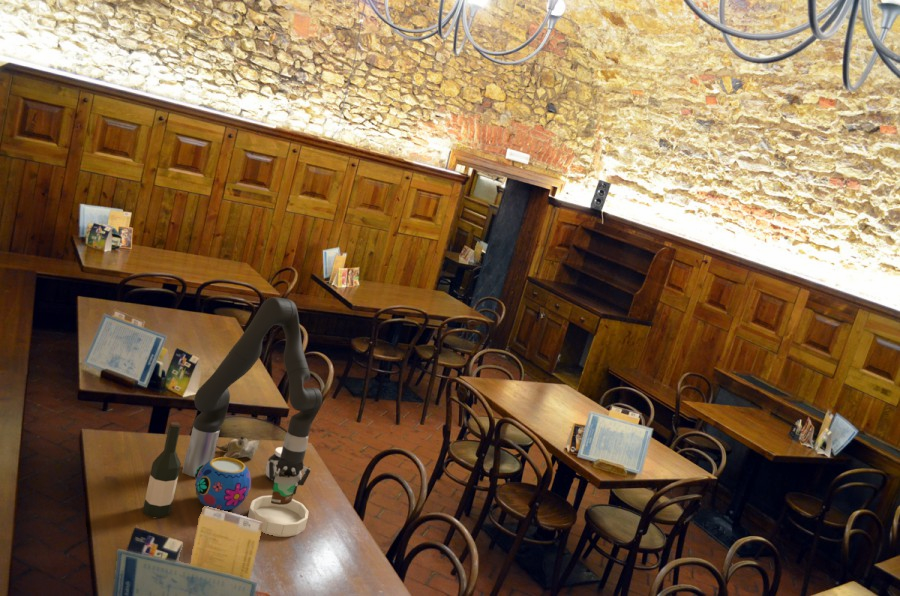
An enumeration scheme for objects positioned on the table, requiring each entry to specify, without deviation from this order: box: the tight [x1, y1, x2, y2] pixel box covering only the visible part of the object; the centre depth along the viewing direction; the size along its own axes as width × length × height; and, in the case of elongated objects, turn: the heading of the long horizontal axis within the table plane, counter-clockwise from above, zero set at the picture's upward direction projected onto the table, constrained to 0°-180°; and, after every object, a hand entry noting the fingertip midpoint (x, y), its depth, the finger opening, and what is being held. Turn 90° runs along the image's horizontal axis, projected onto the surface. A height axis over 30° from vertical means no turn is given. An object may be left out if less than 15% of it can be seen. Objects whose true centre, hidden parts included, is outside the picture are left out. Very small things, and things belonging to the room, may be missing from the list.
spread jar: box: [265, 446, 303, 484], centre depth 273 cm, size 12×11×12 cm
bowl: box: [247, 495, 310, 538], centre depth 243 cm, size 19×19×4 cm
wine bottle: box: [142, 421, 182, 519], centre depth 228 cm, size 8×8×30 cm
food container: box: [271, 472, 301, 505], centre depth 241 cm, size 12×6×10 cm, turn 168°
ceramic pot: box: [194, 456, 252, 511], centre depth 242 cm, size 18×18×15 cm
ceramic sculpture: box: [216, 436, 260, 459], centre depth 282 cm, size 11×9×15 cm
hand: (283, 492), depth 241 cm, fingers closed on food container, 5 cm apart
